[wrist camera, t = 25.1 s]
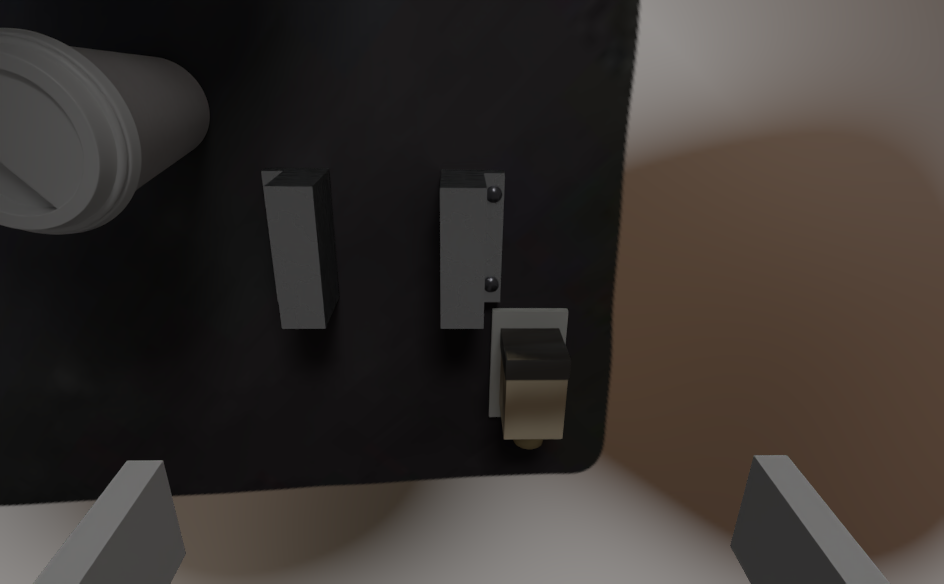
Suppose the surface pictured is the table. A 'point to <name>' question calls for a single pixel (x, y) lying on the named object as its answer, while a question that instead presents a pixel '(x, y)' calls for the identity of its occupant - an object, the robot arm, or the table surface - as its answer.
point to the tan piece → (533, 384)
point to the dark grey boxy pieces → (314, 253)
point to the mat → (518, 320)
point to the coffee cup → (87, 130)
